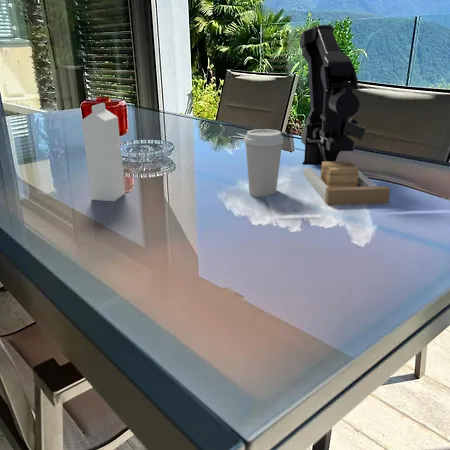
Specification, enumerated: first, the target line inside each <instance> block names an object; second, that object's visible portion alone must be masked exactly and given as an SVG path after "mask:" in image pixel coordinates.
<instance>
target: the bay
mask: <svg viewBox="0 0 450 450" xmlns="http://www.w3.org/2000/svg"><path fill="white" fill-rule="evenodd" d="M302 176H303V177H304V178H305V180H306V181H307V182H308V183H309V184H310V186H311V187H312V189H314V191H315V192H316V193H317V194H318V196H319V197H320V198H321V199H322V201H323V202H324V203H325V204H326V206H339V205H341V206H342V205H345V206H346V205H375V204H389V201H390V200H389V199H390V193H391V188H390V187H388V186H387V185H378V184H376V183H375V182H374V181H372V180H371V179H370V178H369V177H367V176H366V175H364V173H362V172H361V171H360V170H359V175H358V185H357V187H336V188H328V186H327V185H326V184H325V183H324V182H323V181H322V180H321V177H320V176H318V174H316V172H315V171H314V170H313V169H312V167H309V168H306V167H305V168H303V173H302Z"/></svg>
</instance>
